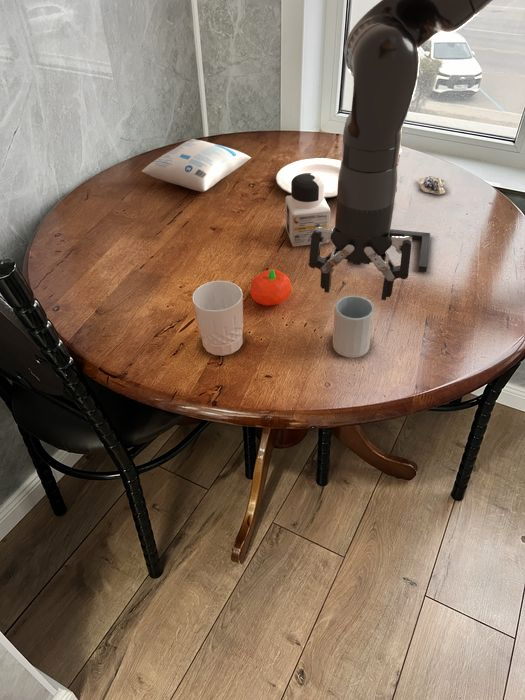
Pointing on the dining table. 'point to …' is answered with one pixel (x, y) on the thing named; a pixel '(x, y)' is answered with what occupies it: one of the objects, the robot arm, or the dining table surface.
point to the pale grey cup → (352, 326)
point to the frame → (424, 245)
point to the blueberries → (432, 185)
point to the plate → (316, 166)
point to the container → (306, 208)
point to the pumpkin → (270, 287)
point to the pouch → (196, 164)
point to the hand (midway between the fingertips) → (355, 293)
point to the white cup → (219, 316)
